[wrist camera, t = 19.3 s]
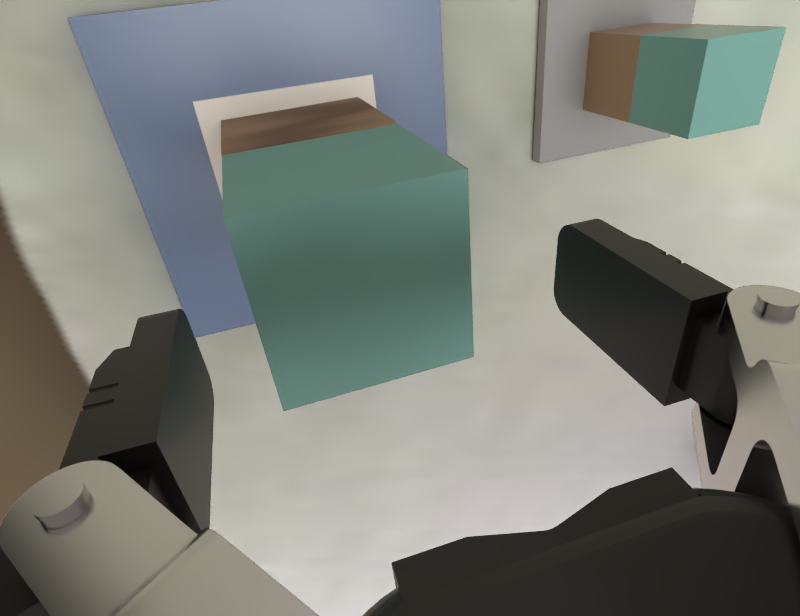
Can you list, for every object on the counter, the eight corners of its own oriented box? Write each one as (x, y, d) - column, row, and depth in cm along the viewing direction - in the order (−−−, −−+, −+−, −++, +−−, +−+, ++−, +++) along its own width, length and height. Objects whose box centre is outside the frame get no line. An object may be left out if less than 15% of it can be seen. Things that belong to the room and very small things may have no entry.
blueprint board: (430, -24, 18) (439, -25, 17) (446, 267, 25) (453, 275, 24) (73, 17, 16) (66, 17, 15) (195, 328, 22) (194, 339, 21)
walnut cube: (358, 96, 19) (396, 121, 14) (375, 221, 21) (413, 272, 17) (220, 120, 18) (221, 153, 13) (258, 247, 20) (267, 308, 16)
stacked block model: (691, -39, 21) (858, -56, 15) (660, 134, 24) (786, 170, 19) (540, -21, 19) (666, -33, 14) (532, 160, 23) (628, 206, 18)
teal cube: (397, 123, 14) (467, 168, 10) (413, 274, 17) (473, 356, 13) (221, 155, 13) (222, 218, 9) (267, 309, 16) (283, 411, 12)
